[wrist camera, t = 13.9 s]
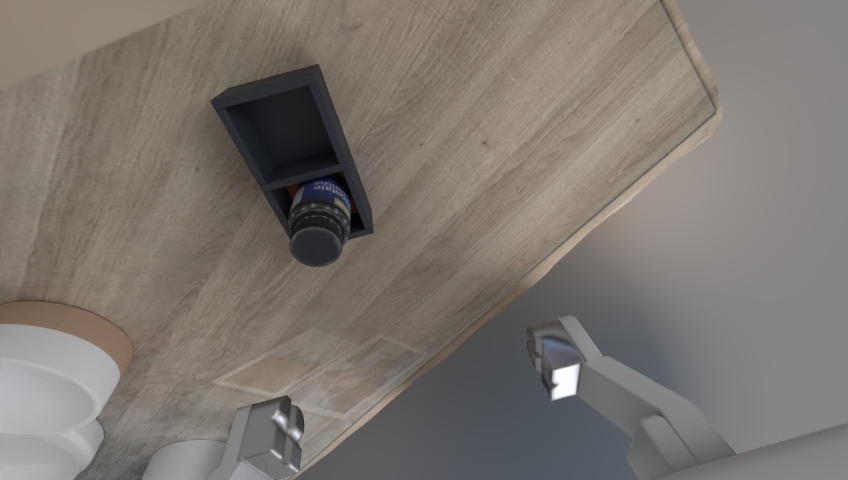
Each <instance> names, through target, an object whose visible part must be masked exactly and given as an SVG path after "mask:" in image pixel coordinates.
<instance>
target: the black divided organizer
mask: <svg viewBox="0 0 848 480" xmlns="http://www.w3.org/2000/svg"><path fill="white" fill-rule="evenodd" d="M210 102H211V103H212V105H213V107H214V108H215V110H216V112H217V113H218V115H219V117H220V118H221V120H222V122H223V124H224V125H225V127H226V129H227V131H228V132H229V134H230V136H231V137H232V139H233V141H234V143H235V144H236V146H237V148H238V150H239V151H240V153H241V155H242V157H243V158H244V160H245V162H246V163H247V165H248V167H249V169H250V170H251V172H252V174H253V176H254V177H255V179H256V181H257V182H258V184H259V185H260V188H261V189H262V191H263V192H264V195H265V197H266V198H267V200H268V202H269V203H270V205H271V207H272V209H273V210H274V212H275V214H276V216H277V217H278V219H279V221H280V223H281V224H282V226H283V228H284V229H285V231H286V233H287V235H288V232H287V220H288V217H289V214H290V210H291V208H292V204H293V201H294V198H295V195H296V191H297V188H298V185H299V183H300V182H304V181H307V180H311V179H315V178H318V177H322V176H326V175H329V174H333V173H336V174H338V175H339V176H340V177H342V178H343V179H344V180H345V181H346V182H347V184H348V187H349V189H350V193H351V218H350V234H349V237H348V239H347V240H350V239H353V238H357V237H361V236H364V235H368V234H372V233H374V231H373V220H372V210H371V207H370V205H369V202H368V199H367V196H366V194H365V191H364V188H363V185H362V183H361V180H360V177H359V174H358V172H357V169H356V166H355V163H354V161H353V158H352V155H351V152H350V149H349V147H348V144H347V141H346V138H345V136H344V133H343V130H342V127H341V125H340V122H339V119H338V116H337V114H336V111H335V108H334V105H333V103H332V100H331V97H330V94H329V91H328V89H327V86H326V83H325V80H324V78H323V75H322V72H321V69H320V67H319V64H317V65H313V66H309V67H306V68H302V69H298V70H294V71H291V72H287V73H283V74H279V75H276V76H272V77H268V78H264V79H261V80H257V81H253V82H249V83H246V84H242V85H238V86H234V87H231V88H228V89H226V90H225V91H223V92H222V93H221V94H219V95H218V96H216V97H215V98H214V99H212V100H211V101H210ZM288 236H289V235H288ZM289 238H290V237H289Z"/></svg>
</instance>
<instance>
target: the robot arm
mask: <svg viewBox="0 0 848 480" xmlns="http://www.w3.org/2000/svg"><path fill="white" fill-rule="evenodd" d="M527 335H528V337H529V340H528V341H527V348H528V352H529V355H530V358H531V361H532V363H533V365H534V367H535V369H536V370H538V371H539V372H541V373H542V383H543V385H544V387H545V389H546V391H547V393H548V395H549V397H550V399H551V401H552V400H556V399H559V398H564V397H568V396H572V395H575V394H577V396H578V397H580V398H581V399H582V400H584V401H585V402H586V403H588V404H589V405H590V406H591V407H593V408H594V409H595V410H597V411H598V412H599V413H600V414H602V415H603V416H605V417H606V418H607V419H608V420H609V421H611V422H612V423H614V424H615V425H616V426H617V427H619V428H620V429H621V430H623V431H624V432H625V433H626V434H628V435H629V436H631V437H632V438H633V441H632V444H631V446H630V448H629V451H628V453H627V457H626V460H627V461H628V463H629V465H630V466H631V468H632V470H633V471H634V473H635V475H636V477H637V478H638V480H848V422H846V423H843V424H839V425H835V426H832V427H829V428H825V429H822V430H818V431H815V432H811V433H808V434H805V435H801V436H798V437H794V438H791V439H787V440H784V441H780V442H777V443H773V444H770V445H767V446H763V447H760V448H756V449H753V450H750V451H746V452H743V453H739V454H736V453H735V452H734V451H733V449H732V448H731V447H730V446H729V445H728V443H727V442H726V441H725V440H724V439H723V438H722V436H721V435H720V434H719V433H718V432H717V431H716V429H715V428H714V427H713V426H712V425H711V423H710V422H709V421H708V420H707V419H706V417H705V416H704V415H703V414H702V413H701V412H700V410H699V409H698V408H697V407H696V406H695V405H694V403H692V402H691V401H689V400H687V399H685V398H683V397H682V396H680V395H678V394H676V393H674V392H673V391H671V390H669V389H667V388H665V387H663V386H662V385H660V384H658V383H656V382H655V381H653V380H651V379H649V378H647V377H645V376H643V375H642V374H640V373H638V372H636V371H635V370H633V369H631V368H629V367H628V366H626V365H624V364H622V363H620V362H618V361H617V360H615V359H613V358H611V357H609V356H605V357H603V355H602V354H601V353H600V351H599V350H598V349H597V347H596V346H595V344H594V343H593V341H592V340H591V339H590V337H589V336H588V334H587V333H586V332H585V330H584V329H583V328H582V326H581V325H580V323H579V322H578V320H577V319H576V318H575V317H574V316H573V315H567V316H564V317H560V318H557V319H552V320H549V321H546V322H543V323H539V324H536V325H532V326H529V327H527ZM303 434H304V419H303V414H302V412H301V410H300V409H299V408H298V406H294V405H291V399H290V398H289V397H288V396H287V395H285V396H282V397H278V398H274V399H271V400H267V401H264V402H260V403H256V404H252V405H248V406H245V407H241V408H238V410H237V411H236V413H235V414H234V417H233V421H232V424H231V428H230V431H229V435H228V438H227V442H226V445H225V448H224V452H223V455H222V459H221V462H220V466H218V467H215V468H214V469H213V470H212V472H211V473H210V474H209V476H208V477H207V478H206V480H278V479H281V478H284V477H287V476H290V475H293V474H297V473H299V468H300V460H301V451H302V449H301V448H300V446H299V445H298V443H299V441H300V439H301V438H302V436H303Z"/></svg>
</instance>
